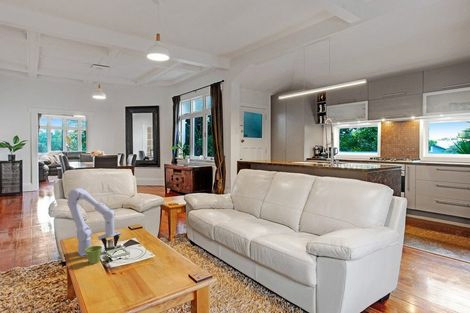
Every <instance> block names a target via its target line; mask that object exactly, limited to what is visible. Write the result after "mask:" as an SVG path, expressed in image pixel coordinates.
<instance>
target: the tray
mask: <svg viewBox="0 0 470 313" xmlns="http://www.w3.org/2000/svg"><path fill="white" fill-rule="evenodd" d="M119 250H123V251H125V253H121V254H118V255H114V256H113V255H112V254H110V253H113V252H115V251H119ZM106 254H107V255H108V256H110V257H111V258H117V257H121V256H126V255H130V254H131V252H130V250H128V249H127V248H126V249H125V248H124V247H121V248H117V249H114V250H110V251H106ZM130 256H131V255H130Z"/></svg>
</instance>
